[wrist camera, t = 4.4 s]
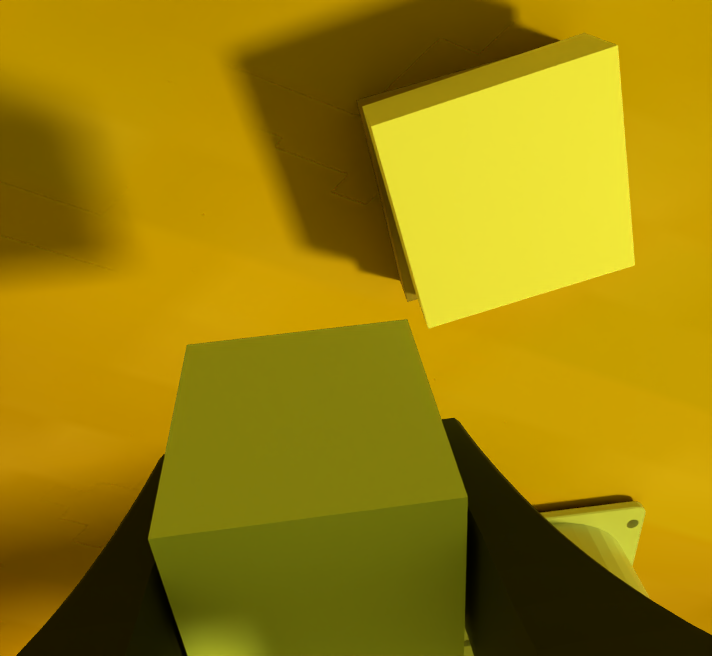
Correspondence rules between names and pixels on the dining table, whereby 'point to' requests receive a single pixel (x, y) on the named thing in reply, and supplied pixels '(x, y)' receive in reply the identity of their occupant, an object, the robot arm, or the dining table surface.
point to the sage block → (311, 500)
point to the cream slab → (508, 177)
